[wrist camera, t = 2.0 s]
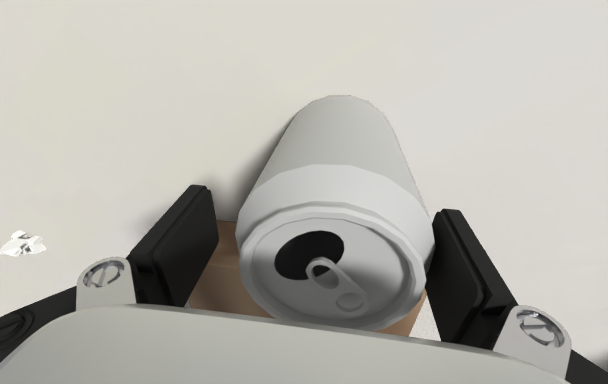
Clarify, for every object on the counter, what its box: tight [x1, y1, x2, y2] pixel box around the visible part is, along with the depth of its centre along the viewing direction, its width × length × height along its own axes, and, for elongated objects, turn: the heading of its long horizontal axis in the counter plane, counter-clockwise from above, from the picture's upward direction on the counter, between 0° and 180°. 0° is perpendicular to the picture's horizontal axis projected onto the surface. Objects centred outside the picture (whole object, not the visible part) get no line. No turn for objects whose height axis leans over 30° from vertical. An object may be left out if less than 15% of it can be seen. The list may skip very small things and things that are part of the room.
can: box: [235, 95, 435, 332], centre depth 14 cm, size 8×8×12 cm
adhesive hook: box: [0, 231, 47, 257], centre depth 29 cm, size 3×3×3 cm
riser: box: [188, 220, 427, 337], centre depth 26 cm, size 18×16×5 cm
